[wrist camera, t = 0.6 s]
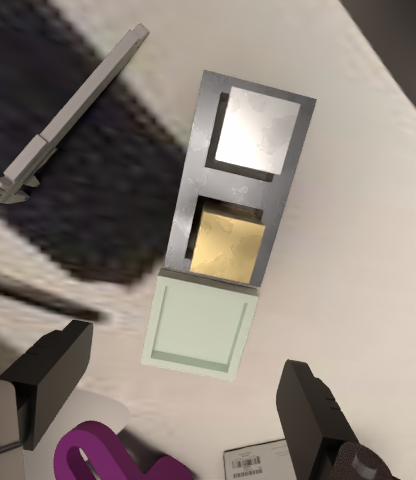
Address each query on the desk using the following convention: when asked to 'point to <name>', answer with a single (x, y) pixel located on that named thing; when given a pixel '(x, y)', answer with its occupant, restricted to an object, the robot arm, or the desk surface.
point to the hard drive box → (260, 463)
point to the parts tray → (198, 325)
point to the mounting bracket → (107, 458)
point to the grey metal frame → (231, 185)
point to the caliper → (66, 119)
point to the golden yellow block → (226, 242)
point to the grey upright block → (255, 131)
